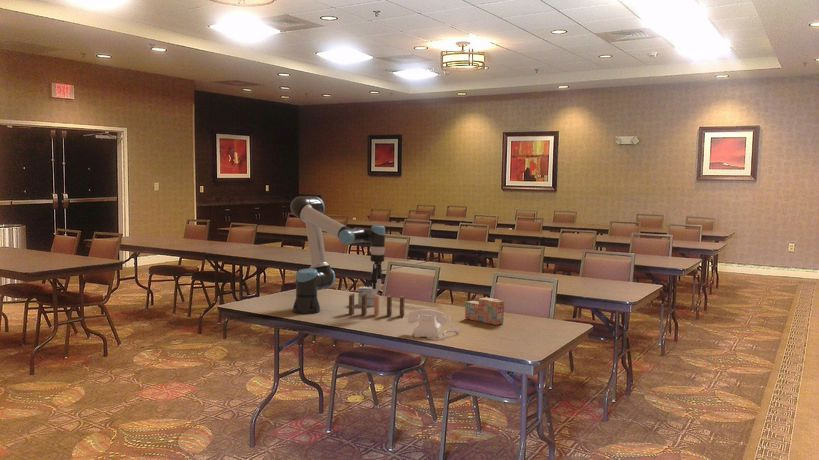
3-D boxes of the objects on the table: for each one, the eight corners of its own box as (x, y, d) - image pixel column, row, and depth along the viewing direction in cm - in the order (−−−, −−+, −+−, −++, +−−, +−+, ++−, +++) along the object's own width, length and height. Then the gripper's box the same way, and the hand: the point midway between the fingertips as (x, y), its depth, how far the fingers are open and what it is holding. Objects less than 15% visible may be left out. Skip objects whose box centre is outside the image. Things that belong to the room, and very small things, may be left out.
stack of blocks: (464, 318, 348) (465, 296, 347) (471, 317, 352) (472, 294, 351) (496, 325, 333) (497, 301, 332) (503, 323, 338) (504, 300, 337)
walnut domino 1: (348, 315, 350) (349, 295, 349) (351, 313, 356) (351, 293, 355) (352, 315, 350) (352, 295, 349) (354, 313, 356) (354, 293, 355)
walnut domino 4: (399, 317, 347) (399, 297, 346) (401, 315, 353) (401, 295, 352) (402, 317, 347) (403, 297, 346) (404, 315, 353) (404, 295, 352)
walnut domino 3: (386, 316, 348) (387, 296, 347) (388, 314, 354) (388, 295, 353) (390, 317, 348) (390, 297, 347) (391, 314, 353) (391, 295, 353)
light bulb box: (377, 304, 383) (377, 286, 382) (375, 306, 376) (376, 288, 376) (359, 303, 384) (360, 286, 383) (357, 306, 377) (358, 287, 377)
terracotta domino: (374, 316, 349) (374, 296, 348) (375, 314, 354) (376, 294, 354) (377, 316, 348) (377, 296, 348) (379, 314, 354) (379, 294, 354)
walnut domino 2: (361, 315, 349) (361, 295, 349) (363, 313, 355) (363, 294, 354) (364, 316, 349) (364, 296, 348) (366, 313, 355) (366, 294, 354)
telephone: (460, 331, 317) (461, 306, 316) (457, 342, 297) (457, 315, 296) (410, 329, 321) (411, 304, 320) (404, 339, 300) (404, 312, 299)
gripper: (380, 257, 336) (379, 297, 338) (387, 251, 361) (386, 289, 363) (366, 256, 337) (365, 296, 339) (374, 251, 362) (373, 288, 363)
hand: (376, 292), depth 351 cm, fingers open, 13 cm apart
